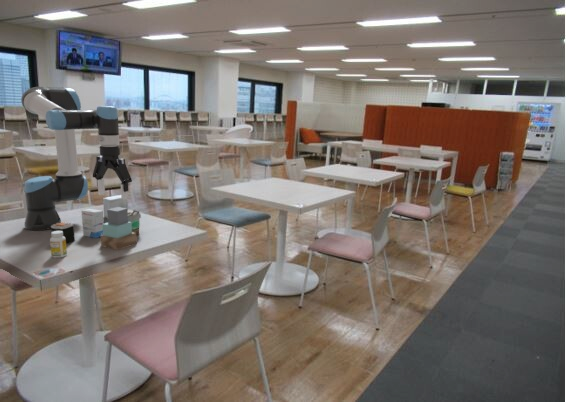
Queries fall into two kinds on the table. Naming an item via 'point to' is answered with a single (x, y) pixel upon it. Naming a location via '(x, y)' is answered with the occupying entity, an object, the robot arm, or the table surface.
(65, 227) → the sushi
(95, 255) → the table surface
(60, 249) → the supplement bottle
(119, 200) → the skincare box
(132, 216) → the food container
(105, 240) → the tower base
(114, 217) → the cube
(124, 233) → the tower top
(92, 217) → the ink box
